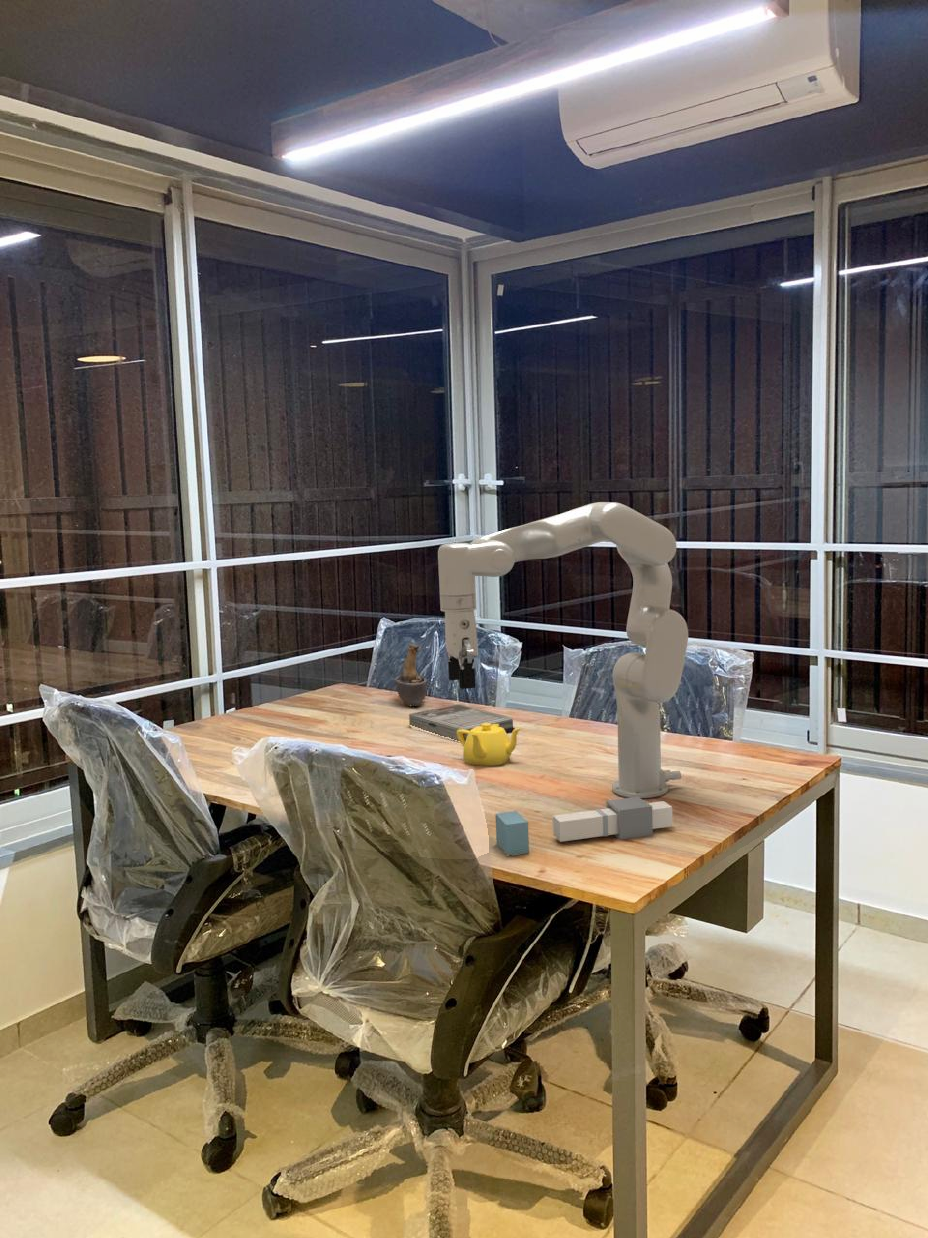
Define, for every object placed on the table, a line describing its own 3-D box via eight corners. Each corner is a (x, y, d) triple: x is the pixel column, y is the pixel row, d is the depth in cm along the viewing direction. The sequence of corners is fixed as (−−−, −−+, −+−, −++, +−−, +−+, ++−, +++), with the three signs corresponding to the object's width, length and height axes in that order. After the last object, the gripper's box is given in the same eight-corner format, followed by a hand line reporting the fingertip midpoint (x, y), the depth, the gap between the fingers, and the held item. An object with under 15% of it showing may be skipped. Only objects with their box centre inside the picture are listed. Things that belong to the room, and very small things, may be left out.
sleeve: (638, 824, 205) (637, 796, 205) (652, 835, 199) (652, 806, 198) (606, 829, 204) (606, 800, 203) (620, 839, 197) (619, 810, 197)
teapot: (473, 772, 248) (472, 733, 247) (454, 759, 260) (452, 721, 259) (524, 764, 253) (522, 725, 252) (502, 751, 265) (501, 715, 264)
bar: (663, 820, 205) (663, 800, 205) (672, 826, 201) (672, 806, 201) (553, 835, 199) (552, 815, 199) (560, 842, 195) (560, 821, 195)
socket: (517, 841, 199) (516, 811, 198) (529, 853, 192) (528, 822, 191) (496, 844, 198) (495, 813, 197) (507, 856, 191) (506, 825, 190)
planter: (419, 711, 316) (416, 649, 313) (377, 707, 325) (374, 646, 322) (446, 702, 328) (443, 641, 326) (405, 697, 337) (402, 639, 335)
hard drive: (463, 745, 275) (463, 729, 274) (408, 729, 296) (407, 714, 296) (514, 733, 286) (514, 718, 285) (458, 718, 307) (457, 704, 307)
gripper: (486, 606, 200) (490, 690, 202) (465, 597, 217) (469, 675, 219) (450, 608, 198) (454, 693, 201) (431, 599, 215) (435, 678, 217)
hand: (461, 683), depth 210 cm, fingers open, 9 cm apart
